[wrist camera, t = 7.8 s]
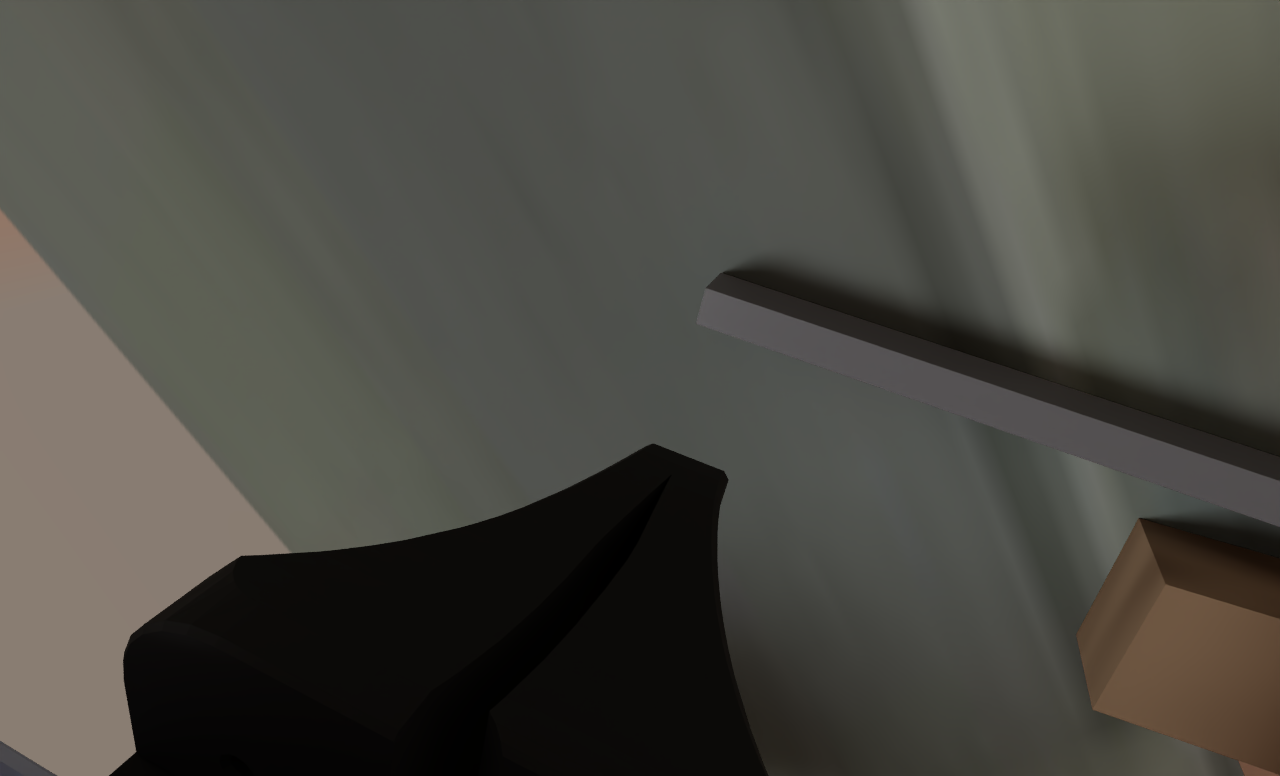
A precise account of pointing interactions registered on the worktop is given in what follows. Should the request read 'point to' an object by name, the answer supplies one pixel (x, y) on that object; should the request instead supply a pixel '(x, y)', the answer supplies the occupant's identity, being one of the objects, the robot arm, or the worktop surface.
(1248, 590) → the brown rectangular block
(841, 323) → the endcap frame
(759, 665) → the worktop surface
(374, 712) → the robot arm
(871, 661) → the worktop surface
